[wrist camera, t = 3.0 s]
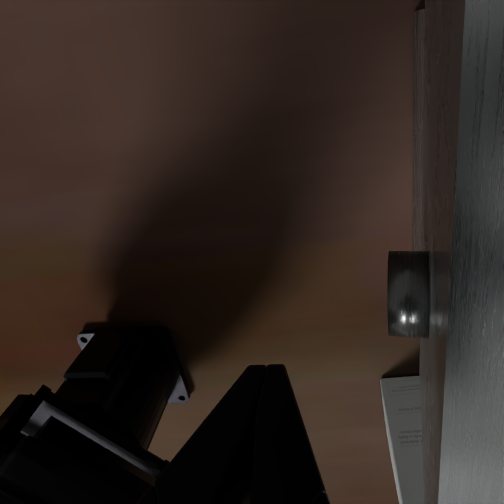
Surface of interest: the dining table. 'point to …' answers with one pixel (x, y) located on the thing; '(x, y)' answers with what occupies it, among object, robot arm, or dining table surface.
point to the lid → (459, 256)
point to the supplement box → (405, 435)
